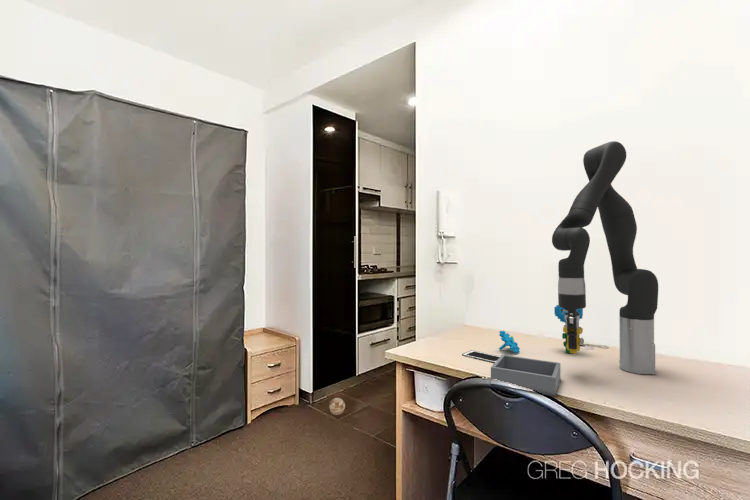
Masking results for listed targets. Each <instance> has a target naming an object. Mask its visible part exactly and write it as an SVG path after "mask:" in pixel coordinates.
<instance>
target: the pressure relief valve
mask: <svg viewBox="0 0 750 500" xmlns="http://www.w3.org/2000/svg"><path fill="white" fill-rule="evenodd" d="M576 325H577V324H576ZM562 331H563V333H566V334H567V328H566V326H564V325H563V326H562ZM583 331H584V329H583V328H582V326H579V329H578V330H577V349H569V347H568V336H567V350H569V351H570V353H569V354H577V353H578V352H579V351H580V349H581V346H584V347H585V346H586V347H592V348H598V349H605V350H607V349H610V346H608V345H601V344H600V345H599V344H592V343H584V342H585V340H584V338H583V337H580V335H582V334H583V333H584V332H583ZM570 332H575V329H570Z"/></svg>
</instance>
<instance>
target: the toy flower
mask: <svg viewBox="0 0 750 500" xmlns="http://www.w3.org/2000/svg"><path fill="white" fill-rule="evenodd" d="M576 310H577V312H578V313H580V319H579V321H580V320H581V319H583V314H584V308H583V309H576ZM565 312H567V313H568V310H567V308H561V307H559V305H558V304H557V305H556V306H554V316H555V317H557V319H559V321H560V322H562V323H564V325H563V327H564V326H566V319H565ZM561 337H562V339H563V340H565V341H563V342H562V343H563V345H562V346H563V347H565V354H571V353H570V351H569V350H567V334H566V333H564V332H563V333H562V334H561Z"/></svg>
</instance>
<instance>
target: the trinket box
mask: <svg viewBox="0 0 750 500" xmlns="http://www.w3.org/2000/svg"><path fill="white" fill-rule="evenodd" d="M328 407H329V410H330V413H331V414H332V415H336V416H337V415H341V414H342V413H344V411H345V409H346V403H345V401H344V400H343V399H342V398H340V397H335V398H333V399H332V400H330V401H329V405H328Z"/></svg>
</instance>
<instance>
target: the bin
mask: <svg viewBox="0 0 750 500" xmlns="http://www.w3.org/2000/svg"><path fill="white" fill-rule="evenodd" d="M499 356H500V358H499V359H498V360H497V361H496V362H495V363H492V364H493V365H492V366H490V380H491V379H497V380H500V381H504V382H509V383H512V384H516V385H518V386H522V387H526V388H530V389H533V390H535V391H537V392H539V393H542V394H541V395H544V396H550V397H555V398H556V397H557V394H558V390H559V386H560V382H561V362H557V361H556V362H555V361H548V360H544V359H543V360H542V359H536V358H530V357H529V358H528V357H523V356H515V355H508V354H507V355H506V354H501V355H499Z"/></svg>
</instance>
